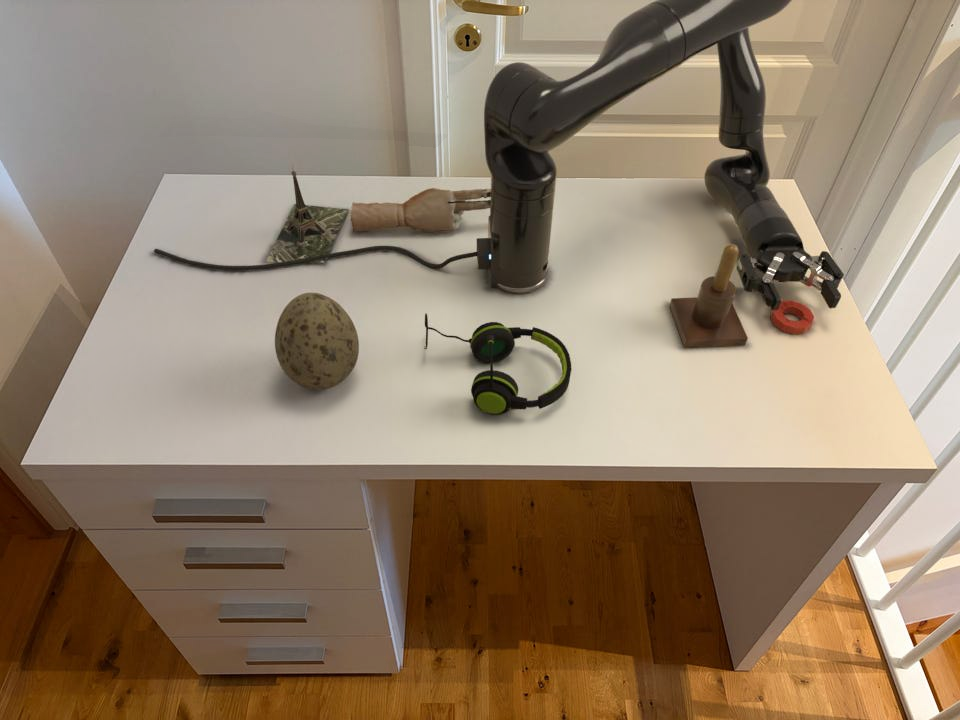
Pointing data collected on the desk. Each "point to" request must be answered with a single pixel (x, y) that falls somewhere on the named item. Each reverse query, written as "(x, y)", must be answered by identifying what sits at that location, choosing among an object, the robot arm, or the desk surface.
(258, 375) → the desk surface
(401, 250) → the robot arm
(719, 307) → the ring stand
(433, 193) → the mannequin hand
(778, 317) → the ring
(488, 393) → the headphones
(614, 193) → the desk surface
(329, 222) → the eiffel tower figurine
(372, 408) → the desk surface
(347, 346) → the decorative egg
